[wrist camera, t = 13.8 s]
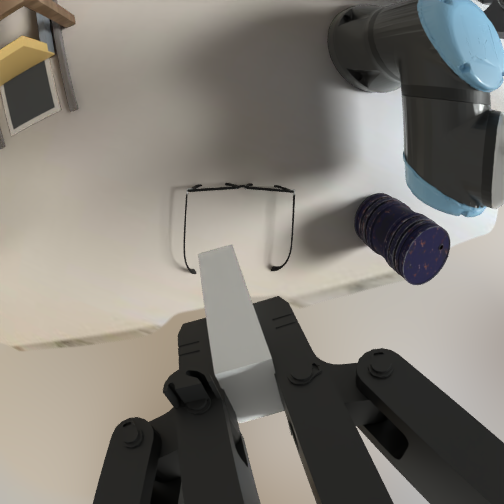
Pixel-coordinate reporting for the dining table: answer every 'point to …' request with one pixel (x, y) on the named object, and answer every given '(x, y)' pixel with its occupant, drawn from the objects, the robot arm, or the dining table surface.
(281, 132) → the dining table surface
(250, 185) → the eyeglasses
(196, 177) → the dining table surface
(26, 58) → the yellow panel grey frame
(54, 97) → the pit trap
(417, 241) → the dark blue cylinder
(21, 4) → the wooden stand with rails
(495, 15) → the planter
